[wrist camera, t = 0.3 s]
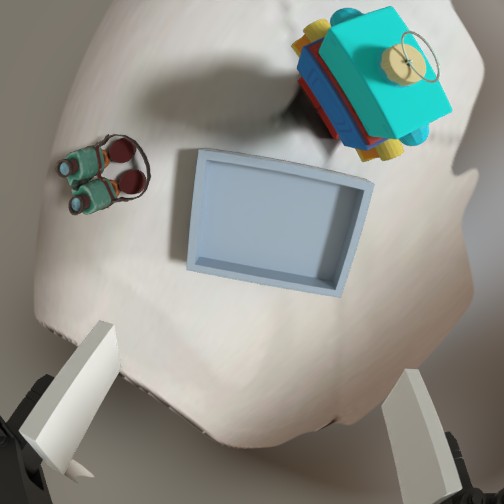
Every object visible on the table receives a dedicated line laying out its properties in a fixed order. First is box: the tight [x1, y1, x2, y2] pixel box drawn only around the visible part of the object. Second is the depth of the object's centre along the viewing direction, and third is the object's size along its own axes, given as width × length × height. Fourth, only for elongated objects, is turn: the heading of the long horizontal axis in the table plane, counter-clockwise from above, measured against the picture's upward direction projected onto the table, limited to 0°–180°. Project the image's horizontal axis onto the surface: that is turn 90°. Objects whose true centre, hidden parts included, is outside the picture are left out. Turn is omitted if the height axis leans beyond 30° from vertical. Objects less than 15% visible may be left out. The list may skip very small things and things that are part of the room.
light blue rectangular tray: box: [186, 148, 374, 298], centre depth 35 cm, size 15×20×4 cm
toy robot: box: [291, 6, 452, 162], centre depth 19 cm, size 12×6×25 cm, turn 32°
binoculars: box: [56, 134, 151, 215], centre depth 31 cm, size 9×11×10 cm
